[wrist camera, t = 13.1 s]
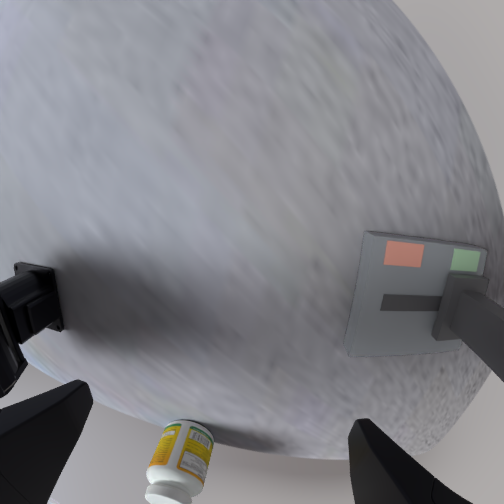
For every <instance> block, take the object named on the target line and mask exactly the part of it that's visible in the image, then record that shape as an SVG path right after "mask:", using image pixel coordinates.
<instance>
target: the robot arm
mask: <svg viewBox="0 0 504 504" xmlns="http://www.w3.org/2000/svg"><path fill="white" fill-rule="evenodd" d="M14 271H15V276H13V277H11V278H9V279H7V280H4V281H2V282H0V398H2V397H4V396H5V395H7V394H8V393H9V392H10V391H11V389H12V388H13V387H14V385H15V383H16V382H17V380H18V379H19V377H20V375H21V374H22V373H23V371H24V369H25V368H26V366H27V365H28V362H27V360H26V358H24V356H23V353H22V351H21V349H20V347H19V344H23V343H24V342H26V341H27V340H28V339H30V338H31V337H32V336H34V335H37V334H38V333H39V332H41V331H42V330H44V329H45V328H49V329H52V330H55V331H58V332H61V331H63V330H64V325H63V321H62V316H61V311H60V306H59V300H58V294H57V288H56V281H55V274H54V271H53V270H52V269H51V268H45V267H40V266H34V265H29V264H24V263H19V262H18V263H15V264H14ZM49 273H50V274H49ZM92 405H93V397H92V394H91V391H90V388H89V385H88V384H87V383H86V382H84V381H81V380H74V381H72V382H69V383H67V384H64V385H62V386H60V387H57V388H55V389H52V390H50V391H47V392H45V393H42V394H39V395H37V396H34V397H32V398H29V399H26V400H24V401H21V402H19V403H16V404H13V405H11V406H8V407H5V408H3V409H0V504H47V502H48V500H49V497H50V495H51V493H52V491H53V489H54V487H55V485H56V483H57V480H58V478H59V476H60V474H61V472H62V470H63V468H64V466H65V464H66V462H67V460H68V458H69V456H70V454H71V452H72V451H73V449H74V447H75V445H76V443H77V441H78V439H79V437H80V435H81V432H82V430H83V428H84V425H85V422H86V420H87V417H88V415H89V412H90V410H91V408H92ZM348 446H349V461H350V477H351V484H352V489H353V495H354V500H355V504H473V503H471V502H469V501H467V500H466V499H464V498H462V497H461V496H459V495H458V494H456V493H455V492H453V491H452V490H450V489H449V488H448V487H447V486H445V485H444V484H443V483H442V482H440V481H439V480H438V479H437V478H434V476H433V475H432V474H431V473H429V472H428V471H427V470H426V469H425V468H424V467H422V466H421V465H420V464H419V463H418V462H417V461H415V460H414V459H413V458H412V457H411V456H410V455H409V454H408V453H406V452H405V451H404V450H403V449H402V448H401V447H400V446H398V445H397V444H396V443H395V442H394V441H393V440H392V439H391V438H390V437H388V436H387V435H386V434H385V433H384V432H383V431H382V430H381V429H380V428H379V427H377V426H376V425H375V424H374V423H373V422H372V421H371V420H370V419H368V418H364V419H357V420H356V421H355V422H354V425H353V427H352V429H351V431H350V433H349V436H348Z"/></svg>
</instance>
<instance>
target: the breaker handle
mask: <svg viewBox="0 0 504 504" xmlns="http://www.w3.org/2000/svg"><path fill="white" fill-rule="evenodd" d="M488 283H489V279H487V278H485V277H484V276H479V275H464V274H450V273H448V276H447V281H446V285H445V289H444V293H443V297H442V300H441V304H440V307H439V311H438V314H437V317H436V321H435V324H434V327H433V330H432V333H431V336H432V337H433V338H434V339H435V340H436V341H445V340H456V339H461V340H462V341H463V342H464V343H466V344H467V345H468V346H469V347H470V348H471V349H472V350H473V351H474V352H475V353H476V354H477V355H478V356H479V357H480V358H481V359H482V360H483V361H484V362H485V363H486V364H487V365H488V366H489V367H490V368H491V369H492V370H493V372H494V373H495V374H496V375H497V376H498V377H499V378H500V379H501V380H502V381H503V382H504V308H503V307H501V306H500V305H498V304H497V303H495V302H494V301H492V300H491V299H489V298H487V297H486V296H485V294H486V290H487V286H488Z"/></svg>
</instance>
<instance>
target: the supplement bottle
mask: <svg viewBox="0 0 504 504" xmlns="http://www.w3.org/2000/svg"><path fill="white" fill-rule="evenodd" d="M213 444H214V439H213V436H212V434H211V433H210V432H209V431H208V430H207V429H206V428H205V427H203V426H202V425H199V424H197V423H195V422H191V421H186V420H178V421H174V422H171V423H169V424H168V425H167V426H166V428H165V430H164V432H163V435H162V437H161V439H160V442H159V445H158V447H157V449H156V451H155V453H154V455H153V458H152V460H151V462H150V465H149V467H148V470H147V473H146V474H147V478H148V480H149V482H150V483H151V485H150V486H148V488H147V491H146V494H145V498H146V500H147V501H149V502H150V503H151V504H191V503H192V499H191V497H194V496H196V495H198V494H200V493H201V491H202V489H203V486H204V482H205V478H206V474H207V469H208V465H209V461H210V457H211V452H212V449H213Z"/></svg>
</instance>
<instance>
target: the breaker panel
mask: <svg viewBox="0 0 504 504" xmlns="http://www.w3.org/2000/svg"><path fill="white" fill-rule="evenodd" d="M487 251H488V250H486V249H483V248H480V247H478V246H475V245H470V244H464V243H457V242H450V241H443V240H435V239H428V238H420V237H412V236H404V235H396V234H388V233H379V232H370V231H364V238H363V245H362V252H361V258H360V264H359V270H358V276H357V282H356V287H355V293H354V298H353V303H352V308H351V312H350V317H349V321H348V326H347V330H346V335H345V339H344V346H345V348H346V351H347V353H348V355H349V357H373V356H398V355H414V354H427V353H438V352H448V351H456V350H459V348H460V346H461V343H462V340H461V339H456V340H445V341H436V340H435V339H434V338H433V337H432V336H431V333H432V330H433V327H434V324H435V321H436V317H437V314H438V311H439V307H440V304H441V300H442V297H443V293H444V289H445V285H446V281H447V276H448V273H450V274H464V275H479V276H482V275H483V271H484V266H485V261H486V256H487Z"/></svg>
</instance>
